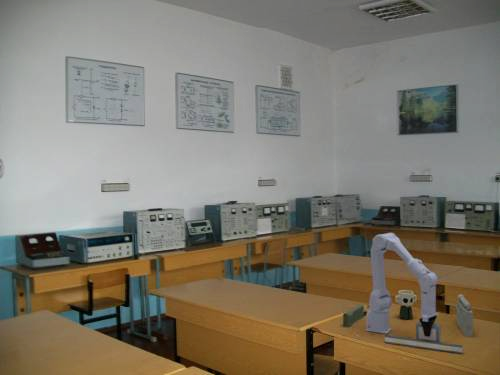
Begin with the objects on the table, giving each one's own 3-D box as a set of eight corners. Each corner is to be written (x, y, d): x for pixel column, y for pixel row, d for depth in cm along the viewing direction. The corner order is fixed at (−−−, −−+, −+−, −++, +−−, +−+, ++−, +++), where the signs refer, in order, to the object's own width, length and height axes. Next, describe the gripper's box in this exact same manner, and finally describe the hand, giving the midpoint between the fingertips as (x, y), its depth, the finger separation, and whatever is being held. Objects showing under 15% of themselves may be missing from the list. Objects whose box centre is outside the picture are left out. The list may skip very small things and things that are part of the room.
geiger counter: (475, 305, 223) (464, 291, 248) (460, 304, 224) (450, 291, 249) (475, 337, 224) (463, 320, 248) (459, 336, 225) (449, 320, 249)
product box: (438, 344, 212) (438, 327, 212) (416, 340, 217) (416, 324, 217) (440, 340, 216) (440, 324, 216) (418, 337, 221) (418, 321, 221)
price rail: (384, 343, 217) (384, 336, 217) (386, 341, 219) (385, 334, 219) (462, 354, 203) (462, 346, 202) (462, 352, 204) (462, 345, 204)
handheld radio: (341, 326, 241) (362, 314, 262) (348, 328, 240) (368, 315, 260) (342, 312, 241) (363, 301, 262) (348, 314, 239) (369, 302, 260)
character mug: (398, 320, 249) (398, 293, 249) (392, 316, 256) (392, 290, 256) (420, 319, 250) (420, 292, 250) (413, 315, 258) (413, 289, 257)
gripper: (435, 307, 208) (435, 340, 208) (441, 299, 221) (441, 330, 221) (417, 305, 211) (417, 338, 212) (423, 297, 224) (423, 328, 224)
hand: (428, 334), depth 217 cm, fingers closed on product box, 4 cm apart
